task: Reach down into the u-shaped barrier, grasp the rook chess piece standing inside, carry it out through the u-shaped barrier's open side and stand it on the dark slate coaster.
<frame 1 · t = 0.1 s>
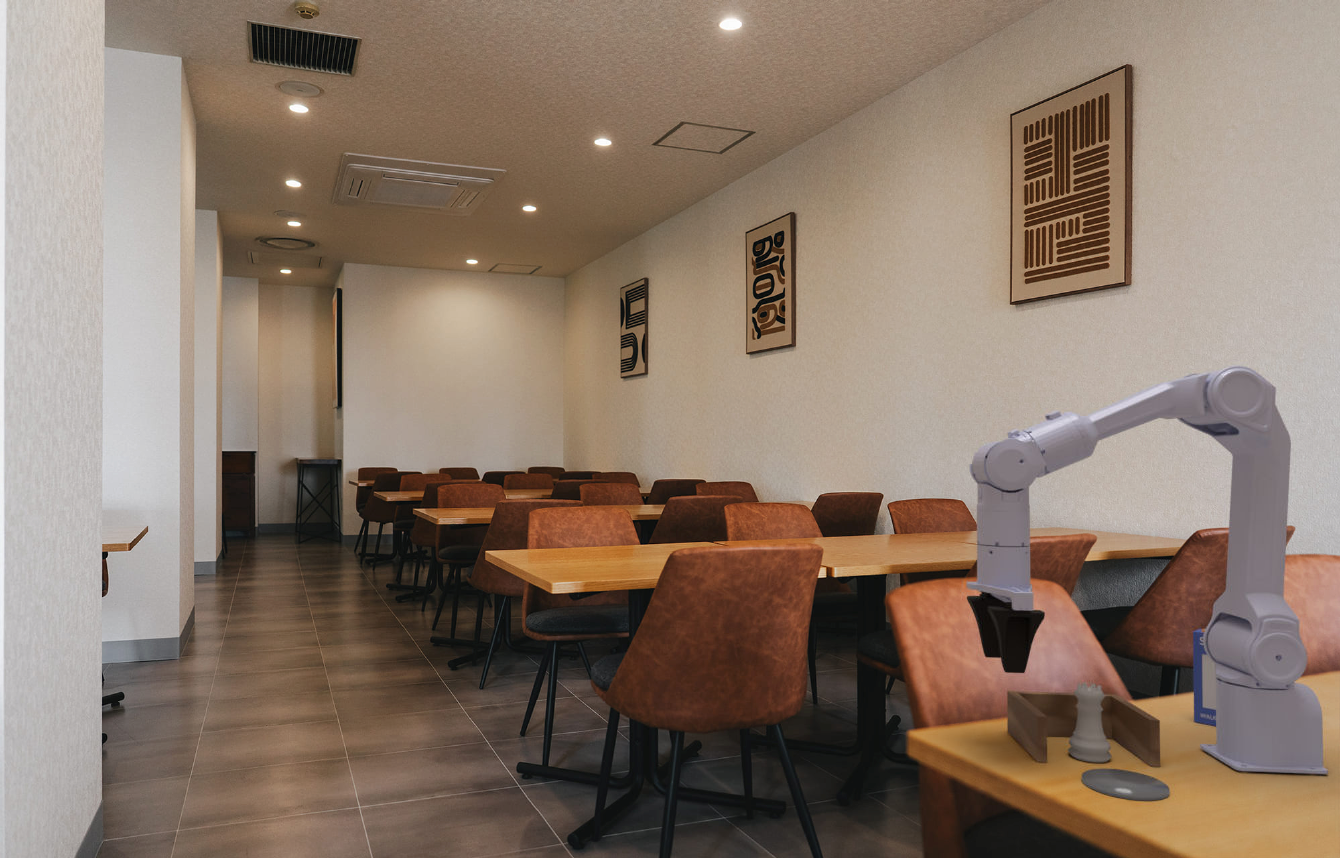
hand: (1003, 664, 100), 10 cm above the table, fingers open, 7 cm apart
u-shaped barrier: (1079, 748, 102), on the table
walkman: (1231, 728, 112), on the table
coaster: (1124, 786, 90), on the table
rook chess piece: (1089, 759, 99), on the table
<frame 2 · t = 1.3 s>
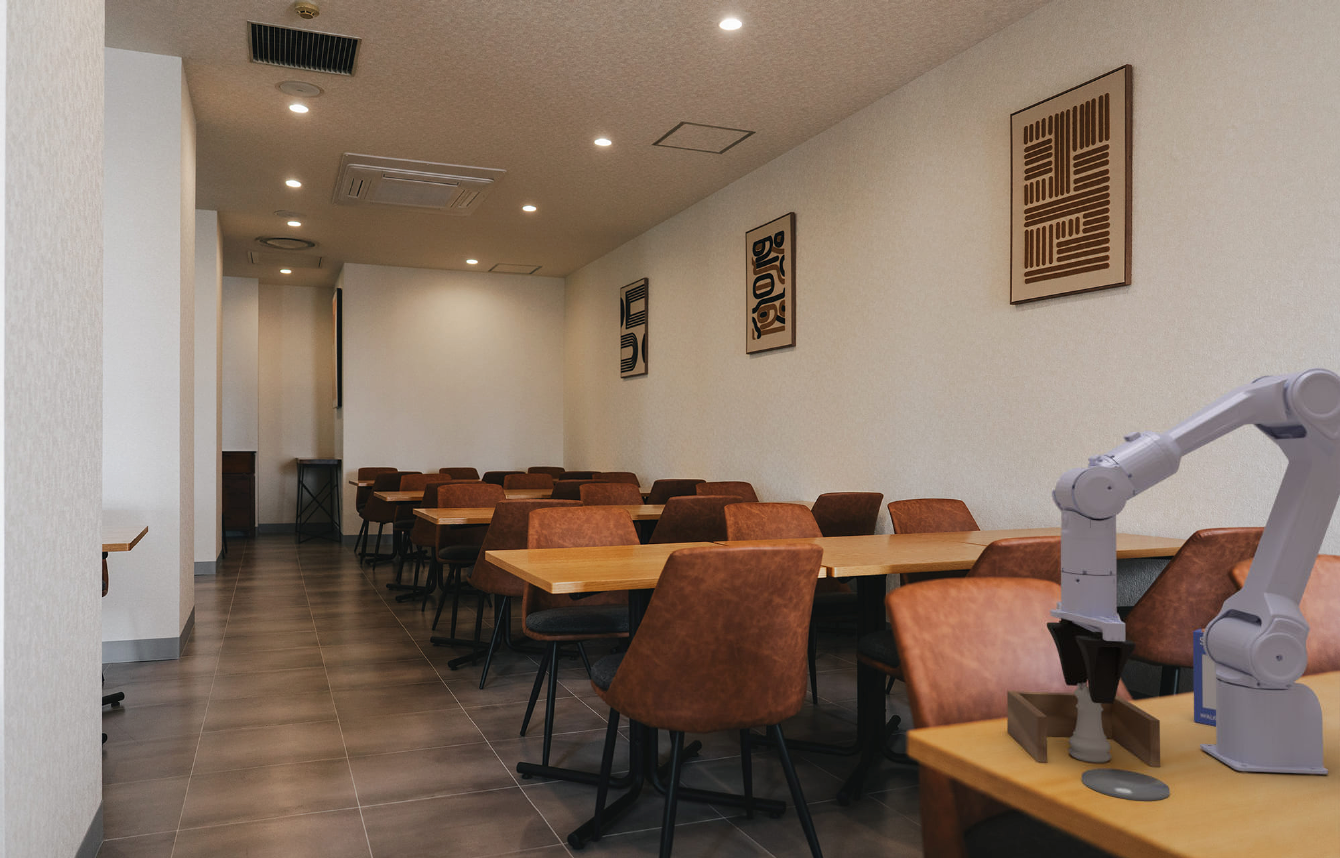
hand: (1088, 693, 99), 7 cm above the table, fingers open, 7 cm apart
nothing on the table moved.
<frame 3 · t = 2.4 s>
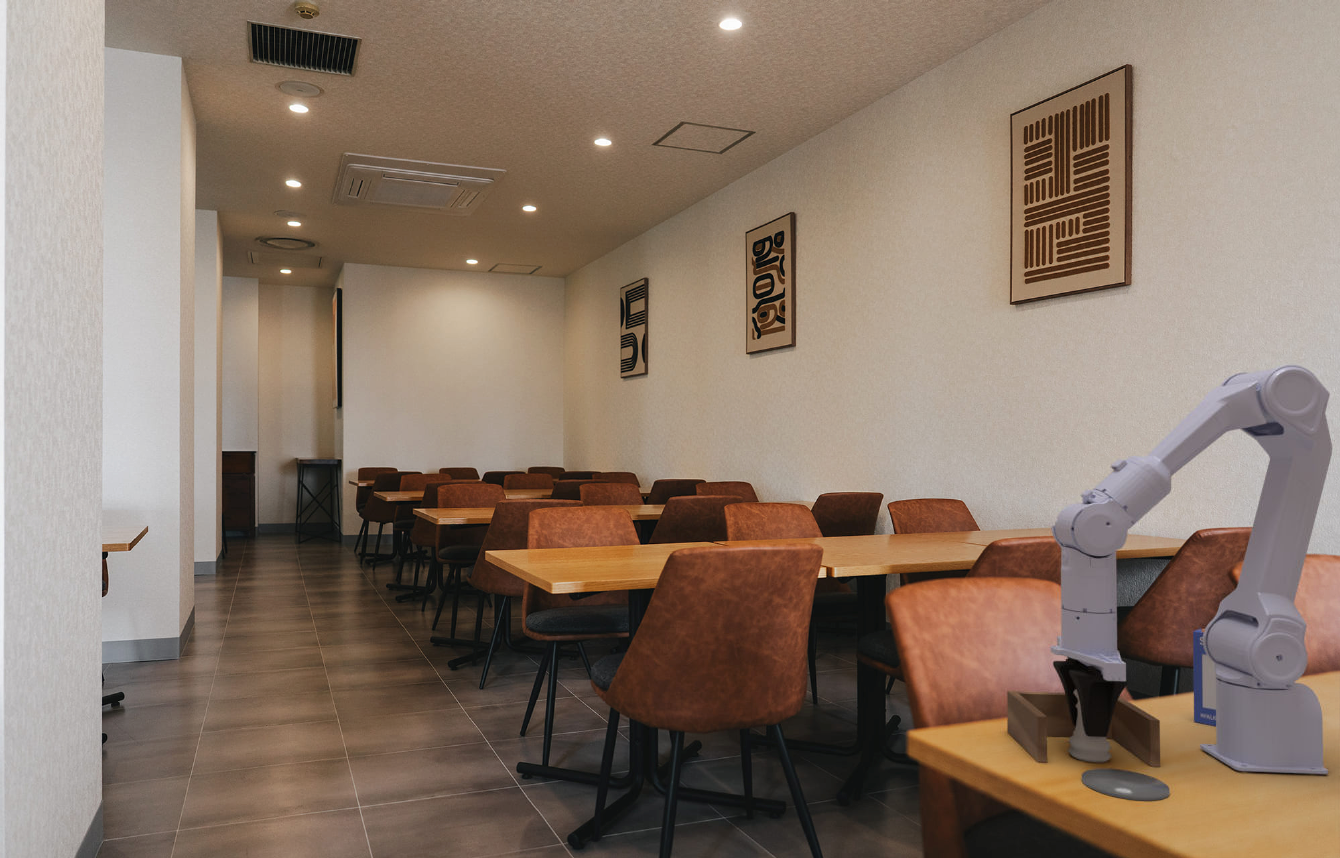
hand: (1089, 730, 99), 3 cm above the table, fingers closed on rook chess piece, 3 cm apart
rook chess piece: (1089, 758, 99), on the table, touching gripper
everything else where it was.
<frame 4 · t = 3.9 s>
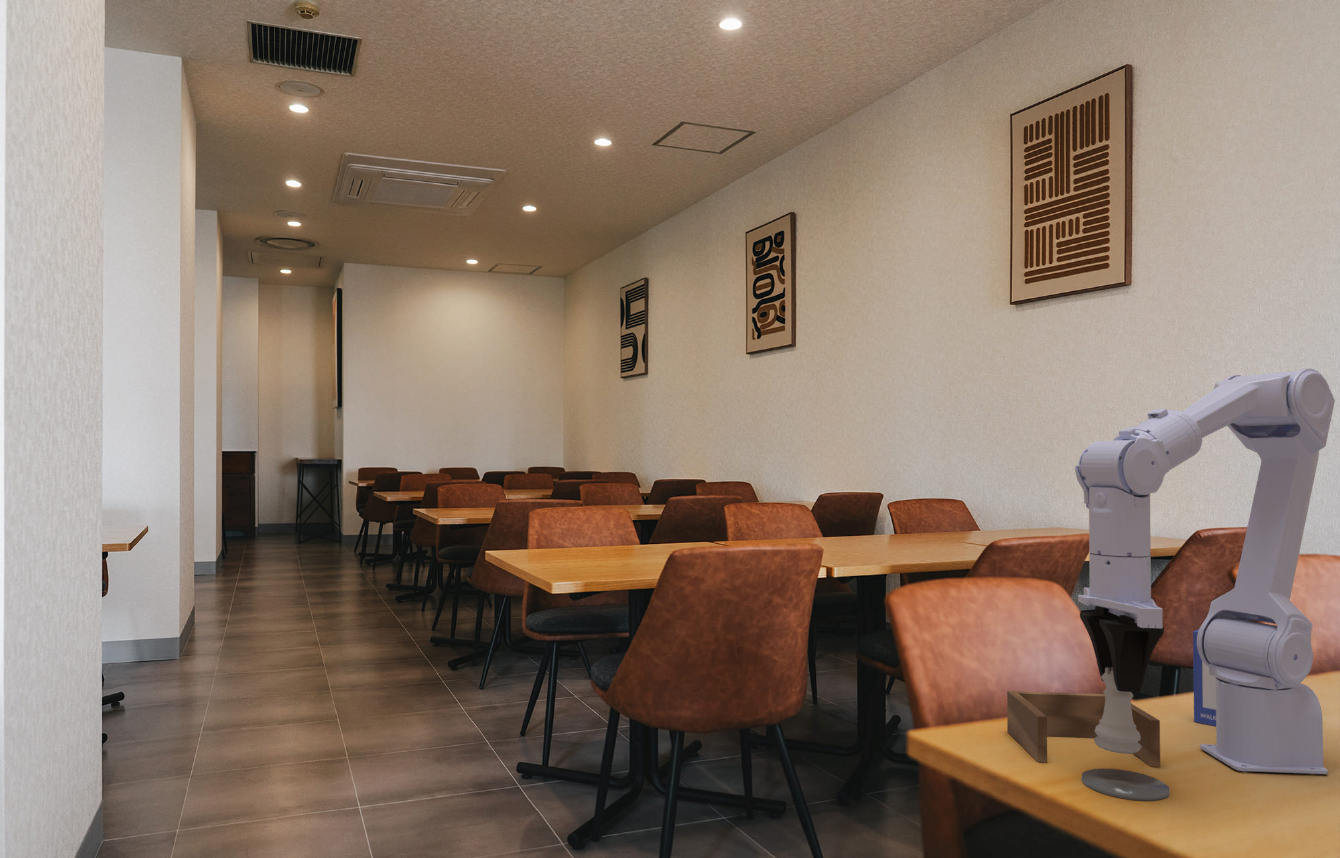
hand: (1120, 686, 91), 10 cm above the table, fingers closed on rook chess piece, 3 cm apart
rook chess piece: (1117, 749, 91), point 3 cm above the table, touching gripper
everything else where it was.
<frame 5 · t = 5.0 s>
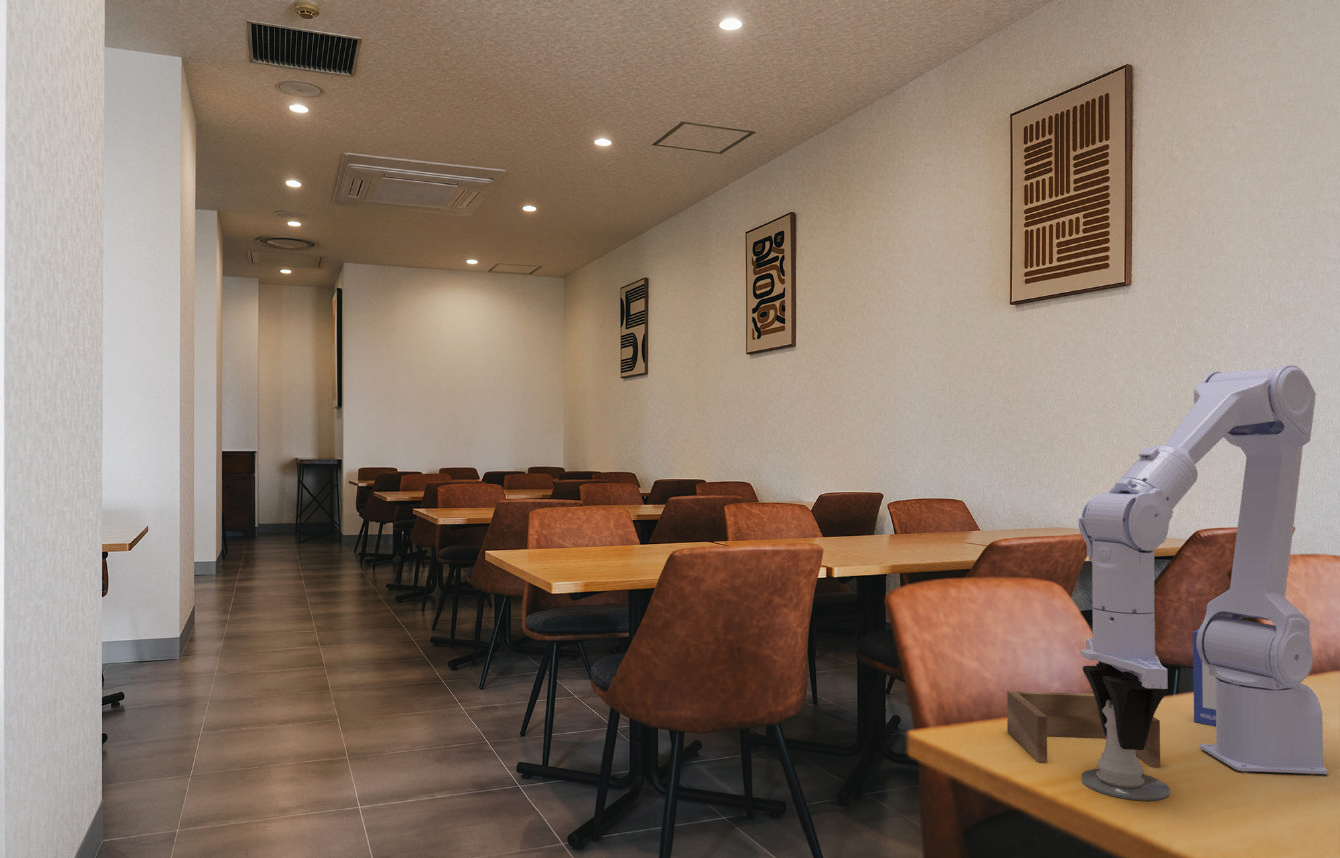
hand: (1124, 742, 90), 4 cm above the table, fingers closed on rook chess piece, 3 cm apart
rook chess piece: (1120, 783, 90), resting on coaster, touching gripper
everything else where it was.
when the fingers open (4 cm above the table, at t = 5.4 s): rook chess piece stays where it is, resting on coaster.
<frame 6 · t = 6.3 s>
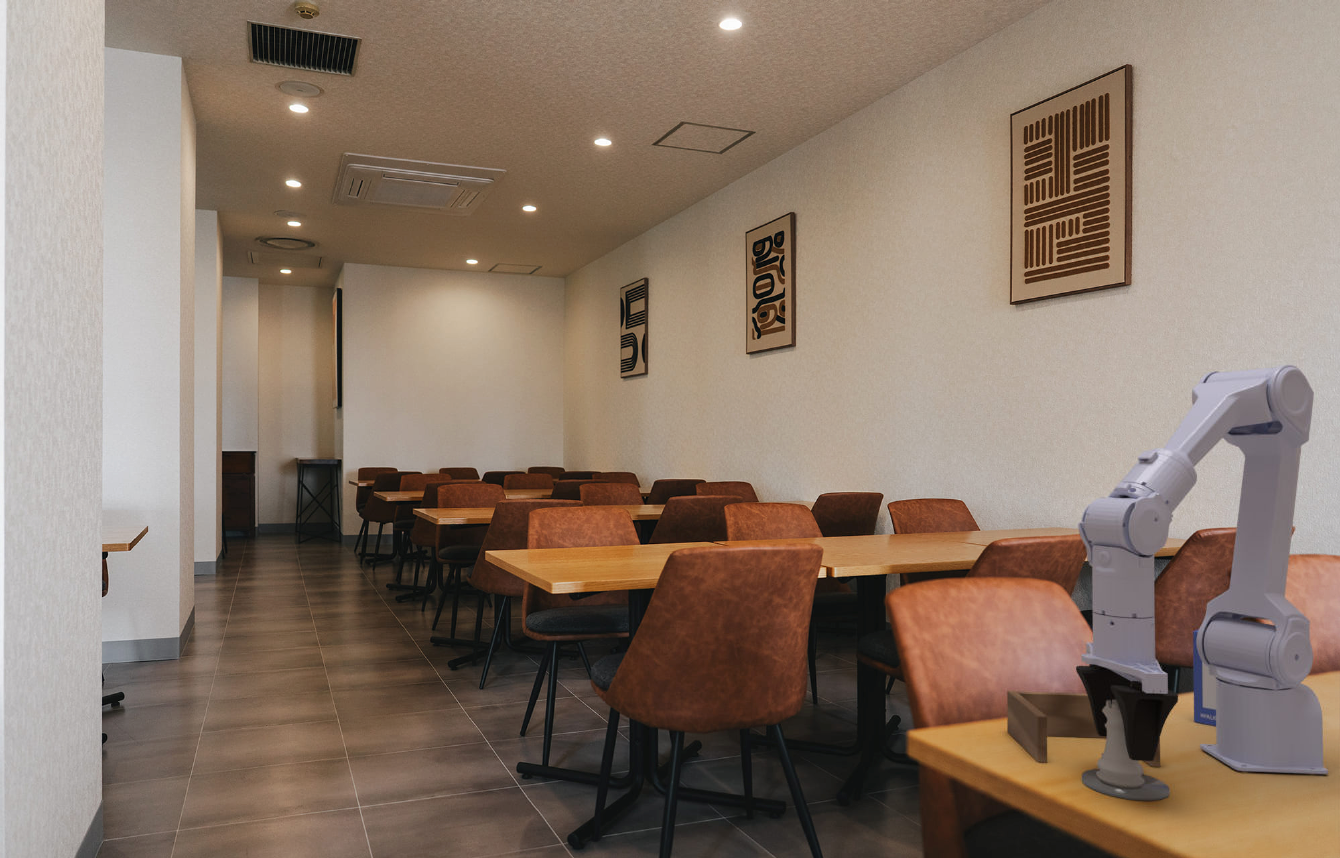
hand: (1124, 747, 90), 4 cm above the table, fingers open, 7 cm apart
rook chess piece: (1120, 783, 90), resting on coaster
everything else where it was.
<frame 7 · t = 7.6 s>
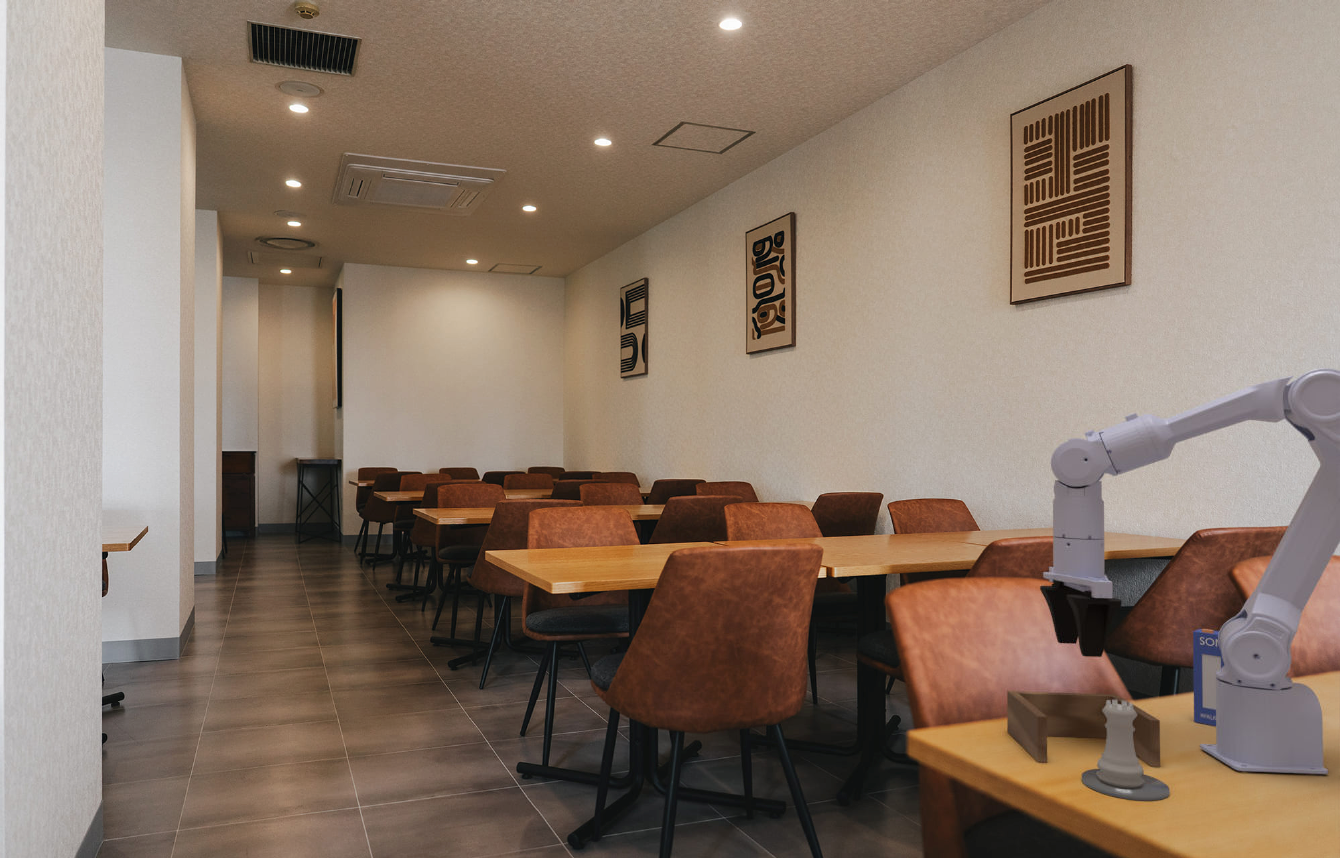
hand: (1078, 649, 108), 10 cm above the table, fingers open, 7 cm apart
nothing on the table moved.
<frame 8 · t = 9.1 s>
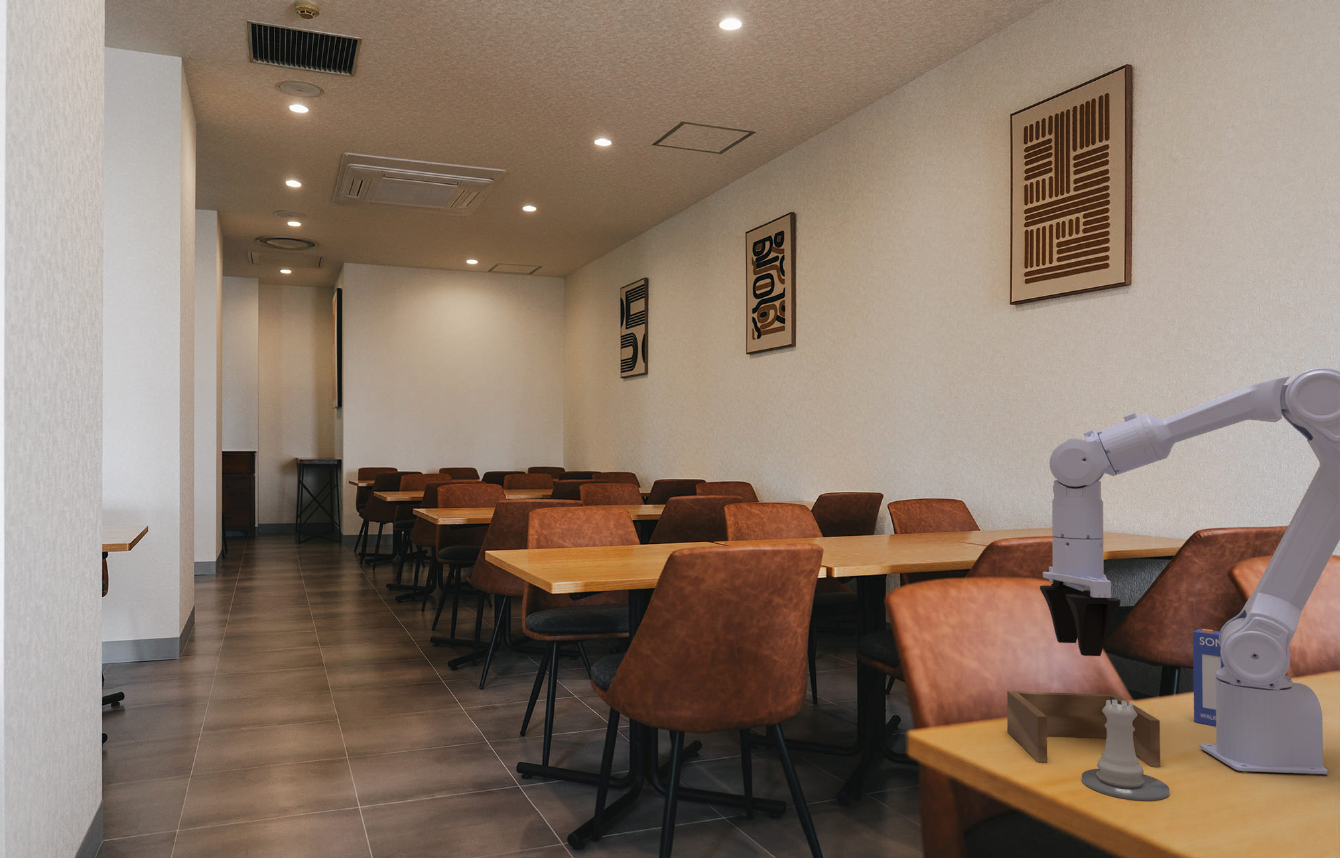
hand: (1078, 648, 108), 10 cm above the table, fingers open, 7 cm apart
nothing on the table moved.
at the end: rook chess piece inside the target area on the coaster (0.4 cm from its centre), point 0.2 cm above the coaster's base; rook chess piece tilted 0°; the gripper is holding nothing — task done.
